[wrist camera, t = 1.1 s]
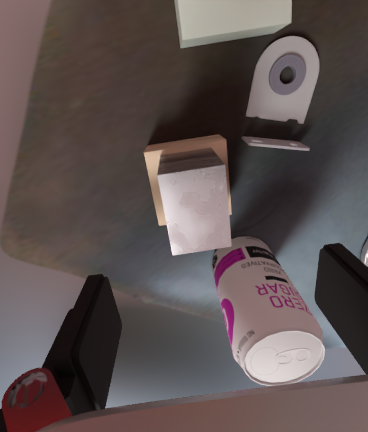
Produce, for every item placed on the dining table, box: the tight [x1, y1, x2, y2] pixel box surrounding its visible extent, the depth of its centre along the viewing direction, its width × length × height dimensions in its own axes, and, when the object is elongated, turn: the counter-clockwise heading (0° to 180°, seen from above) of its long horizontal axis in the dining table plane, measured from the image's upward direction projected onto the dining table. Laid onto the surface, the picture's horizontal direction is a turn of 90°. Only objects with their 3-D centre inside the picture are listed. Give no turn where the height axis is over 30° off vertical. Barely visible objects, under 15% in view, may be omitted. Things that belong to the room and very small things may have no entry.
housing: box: [157, 148, 232, 255], centre depth 23 cm, size 7×5×7 cm
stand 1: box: [144, 134, 232, 226], centre depth 28 cm, size 8×8×4 cm
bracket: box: [242, 36, 319, 151], centre depth 26 cm, size 7×10×4 cm, turn 175°
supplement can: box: [211, 236, 325, 386], centre depth 29 cm, size 8×8×15 cm
